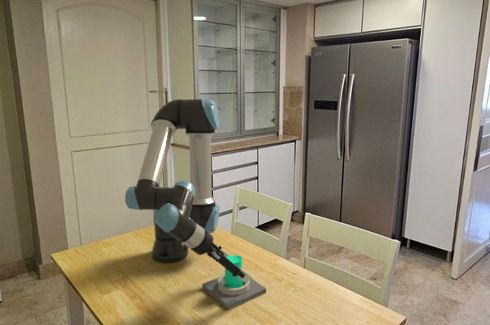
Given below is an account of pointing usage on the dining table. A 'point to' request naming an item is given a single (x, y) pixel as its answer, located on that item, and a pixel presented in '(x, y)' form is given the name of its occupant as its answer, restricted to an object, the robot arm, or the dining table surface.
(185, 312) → the dining table surface
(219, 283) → the candle stand
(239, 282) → the candle
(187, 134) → the robot arm
